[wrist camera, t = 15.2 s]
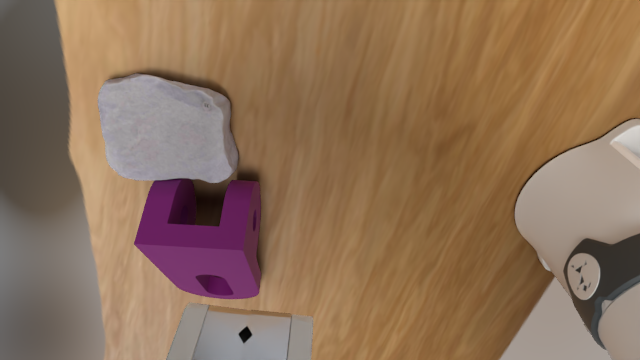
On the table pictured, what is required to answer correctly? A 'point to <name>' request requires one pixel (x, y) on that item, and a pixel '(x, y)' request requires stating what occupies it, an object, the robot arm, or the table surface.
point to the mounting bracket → (203, 239)
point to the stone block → (166, 130)
